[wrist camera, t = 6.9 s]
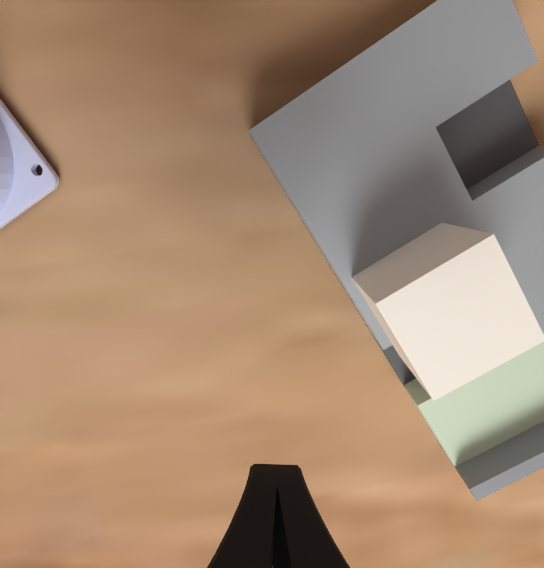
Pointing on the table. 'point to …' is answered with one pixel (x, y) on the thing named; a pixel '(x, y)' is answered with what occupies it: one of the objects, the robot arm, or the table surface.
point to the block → (450, 306)
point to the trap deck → (431, 197)
